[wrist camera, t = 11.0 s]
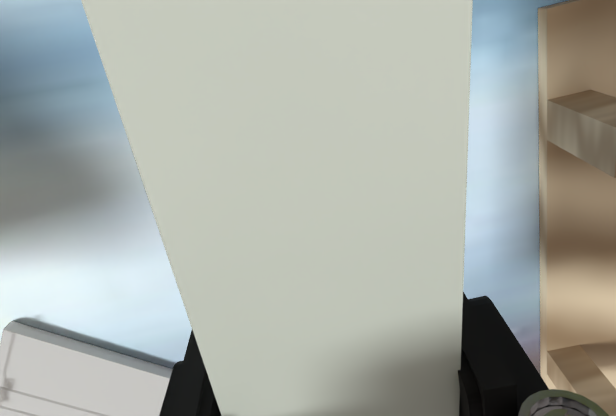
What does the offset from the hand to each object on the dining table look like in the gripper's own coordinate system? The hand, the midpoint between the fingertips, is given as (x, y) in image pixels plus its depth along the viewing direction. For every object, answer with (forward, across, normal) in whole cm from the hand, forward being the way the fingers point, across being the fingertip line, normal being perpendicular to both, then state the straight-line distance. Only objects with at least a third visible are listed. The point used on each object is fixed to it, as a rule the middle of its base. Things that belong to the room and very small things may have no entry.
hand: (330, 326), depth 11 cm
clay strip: (+1, 0, -1) cm, 2 cm away
